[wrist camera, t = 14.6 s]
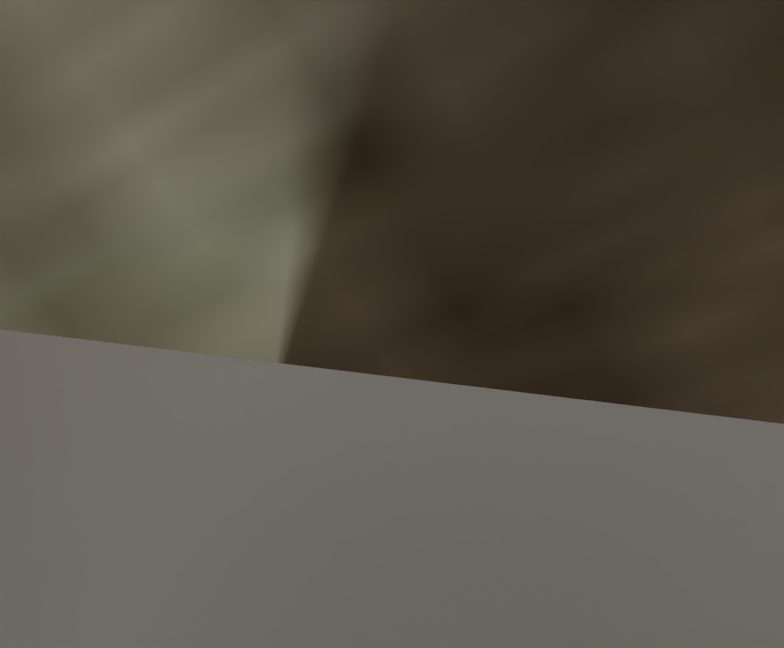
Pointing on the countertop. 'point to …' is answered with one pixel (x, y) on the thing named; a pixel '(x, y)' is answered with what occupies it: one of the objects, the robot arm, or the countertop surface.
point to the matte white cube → (369, 510)
